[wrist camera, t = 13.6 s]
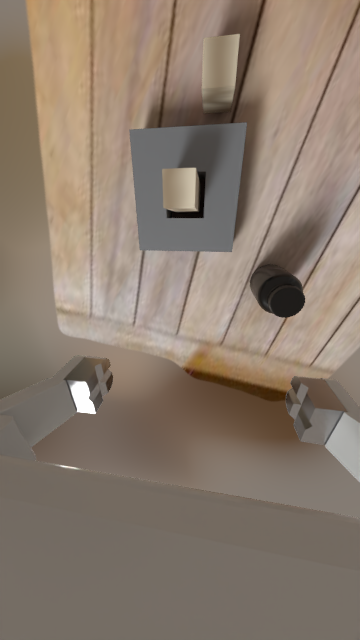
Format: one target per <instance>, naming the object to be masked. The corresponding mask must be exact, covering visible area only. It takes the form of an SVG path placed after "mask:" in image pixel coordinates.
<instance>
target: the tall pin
mask: <svg viewBox="0 0 360 640" xmlns="http://www.w3.org/2000/svg"><path fill="white" fill-rule="evenodd" d="M162 178H163V208H165V209H168V210H171V211H174V212H177V213H200V194H201V185H200V181H199V177H198V173H197V170H196V168H173V169H162Z"/></svg>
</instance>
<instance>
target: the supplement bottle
mask: <svg viewBox="0 0 360 640" xmlns="http://www.w3.org/2000/svg"><path fill="white" fill-rule="evenodd" d="M250 287H251V290H252V292H253V294H254V296H255V298H256V300H257V302H258V303H259V305H260V306H261V308H262V309H264V310H265V311H267V312H269V313H273V314H275V315H276V316H279V317H285V318H286V317H290V316H293V315H296V314H297V313H299V311H301V309H302V308H303V306H304V303H305V296H304V294H303V287H302V284H301V282H300V281H299V280H298V279H297V278H296V277H295V276H293V275H292V274H290V273H289V272H287V271H286V270H284V269H283V268H281V267H279V266H277V265H265V266H262V267H260V268H259V269H257V270H256V271H255V272H254V274H253V275H252V277H251V280H250Z"/></svg>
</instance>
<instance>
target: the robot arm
mask: <svg viewBox="0 0 360 640" xmlns="http://www.w3.org/2000/svg"><path fill="white" fill-rule="evenodd" d="M109 367H110V362H109V359H107V358H100V357H91V356H81V355H77V356H74V357H73V358H72V359H71V360H70V361H69V362H68V363H67V364H66V365H65V366H64V367H63V368H62V369H61V370H60V371H58V372H57V373H56V374H55V375H54V376H53V377H52V378H51V379H48V378H47V379H46V380H43V381H41V382H39V383H36V384H34V385H32V386H30V387H28V388H25V389H23V390H21V391H19V392H17V393H15V394H12V395H10V396H8V397H5V398H3V399H1V400H0V640H360V518H359V517H353V516H347V515H341V514H336V513H330V512H325V511H318V510H313V509H307V508H302V507H296V506H291V505H284V504H279V503H273V502H268V501H262V500H257V499H251V498H245V497H240V496H234V495H228V494H223V493H217V492H211V491H206V490H200V489H194V488H189V487H183V486H177V485H171V484H165V483H160V482H154V481H148V480H143V479H137V478H131V477H126V476H120V475H114V474H109V473H103V472H97V471H91V470H86V469H80V468H74V467H69V466H63V465H57V464H51V463H45V462H40V461H35V460H36V455H35V454H34V452H33V450H32V449H31V447H32V446H34V445H35V444H36V443H37V442H39V441H40V440H41V439H43V438H44V437H45V436H47V435H48V434H49V433H51V432H52V431H53V430H55V429H56V428H57V427H59V426H60V425H61V424H63V423H64V422H65V421H66V420H68V419H69V418H71V417H72V416H73V415H75V414H76V413H77V412H86V413H96V412H97V410H98V408H99V407H100V405H101V403H102V401H103V398H102V396H104V395H105V394H107V393H108V392H109V390H110V388H111V386H112V382H113V375H112V372H111V371H110V370H109V369H108V368H109ZM291 385H292V389H290V390H289V391H288V392H287V395H286V406H287V410H288V412H289V415H290V416H292V417H293V418H294V419H295V422H294V427H295V429H296V432H297V434H298V437H299V439H300V441H302V442H309V443H315V444H321V445H325V447H326V448H327V449H328V450H329V451H330V452H331V453H332V454H333V455H334V456H335V457H336V458H337V459H338V460H339V461H340V462H341V464H342V465H343V466H344V467H345V468H346V469H347V470H348V471H349V472H350V473H351V474H352V475H353V476H354V477H355V478H356V479H357V480H358V481H359V482H360V407H359V406H358V405H357V403H356V402H355V401H354V400H353V398H352V397H351V396H350V395H349V393H348V392H347V391H346V390H345V389H344V387H343V386H342V385H341V384H340V382H339V381H337V380H335V379H324V378H321V379H320V378H309V377H298V376H294V377H293V378H292V380H291Z"/></svg>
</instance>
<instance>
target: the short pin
mask: <svg viewBox="0 0 360 640" xmlns="http://www.w3.org/2000/svg"><path fill="white" fill-rule="evenodd" d="M239 38H240V34H234V35H226V36H217V37H209V38H204V40H203V67H202V101H203V114H204V113H219V112H231V107H232V101H233V95H234V90H235V82H236V71H237V60H238V49H239Z"/></svg>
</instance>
